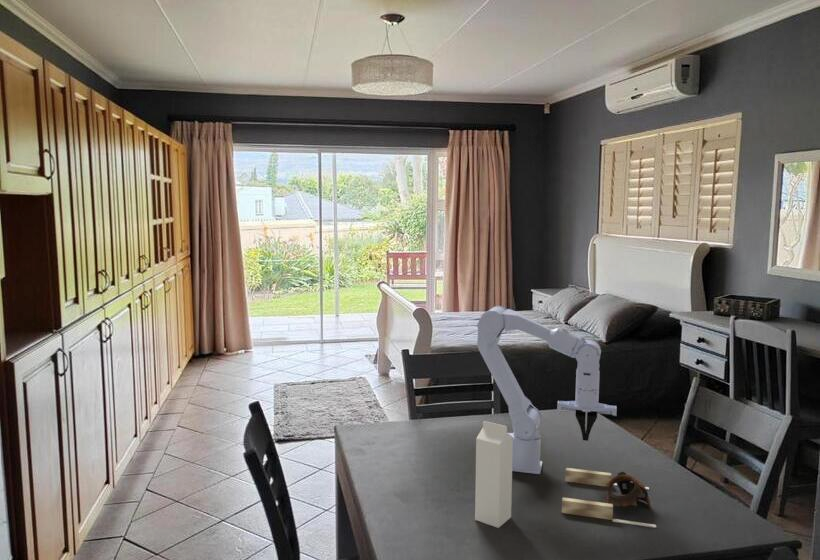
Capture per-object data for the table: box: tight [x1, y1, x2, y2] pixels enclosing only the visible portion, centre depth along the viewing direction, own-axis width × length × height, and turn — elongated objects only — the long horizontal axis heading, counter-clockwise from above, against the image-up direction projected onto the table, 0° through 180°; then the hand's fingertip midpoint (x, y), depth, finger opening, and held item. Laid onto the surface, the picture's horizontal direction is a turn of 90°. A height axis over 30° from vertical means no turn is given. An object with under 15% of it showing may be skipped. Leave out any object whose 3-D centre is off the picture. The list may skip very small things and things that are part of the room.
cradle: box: [561, 467, 614, 521], centre depth 146 cm, size 11×18×3 cm, turn 163°
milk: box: [474, 420, 513, 529], centre depth 135 cm, size 6×6×22 cm
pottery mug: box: [605, 471, 652, 510], centre depth 143 cm, size 12×10×8 cm
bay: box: [612, 482, 657, 528], centre depth 143 cm, size 9×20×1 cm, turn 163°
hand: (585, 439), depth 157 cm, fingers closed
